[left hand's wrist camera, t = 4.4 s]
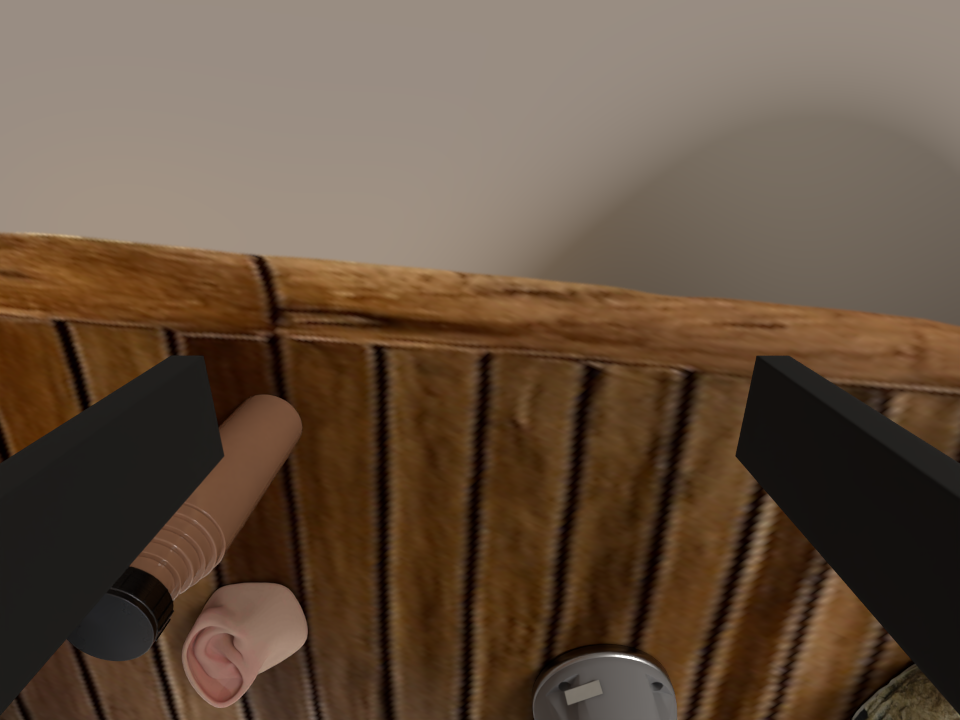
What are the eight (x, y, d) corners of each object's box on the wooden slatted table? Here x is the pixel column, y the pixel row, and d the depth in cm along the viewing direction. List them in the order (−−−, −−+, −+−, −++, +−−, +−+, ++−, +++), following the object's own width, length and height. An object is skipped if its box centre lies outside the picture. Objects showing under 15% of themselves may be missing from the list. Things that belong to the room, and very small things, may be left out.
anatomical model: (253, 597, 46) (324, 678, 50) (270, 565, 50) (335, 641, 53) (138, 646, 48) (214, 719, 52) (163, 611, 52) (232, 682, 55)
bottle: (286, 386, 43) (133, 565, 24) (312, 443, 45) (190, 649, 26) (224, 403, 43) (27, 591, 25) (253, 459, 45) (91, 671, 27)
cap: (146, 554, 26) (123, 582, 24) (191, 621, 27) (172, 651, 25) (65, 574, 26) (36, 603, 24) (113, 638, 28) (90, 669, 26)
